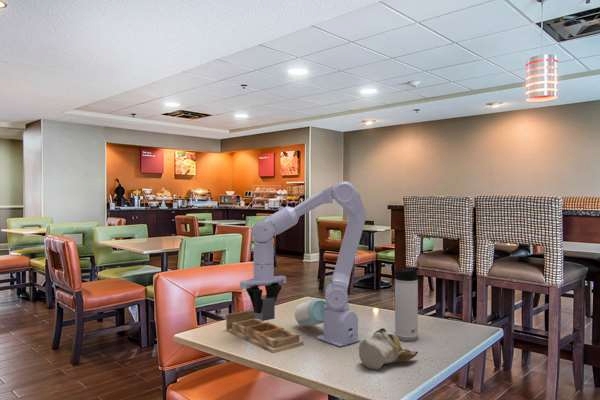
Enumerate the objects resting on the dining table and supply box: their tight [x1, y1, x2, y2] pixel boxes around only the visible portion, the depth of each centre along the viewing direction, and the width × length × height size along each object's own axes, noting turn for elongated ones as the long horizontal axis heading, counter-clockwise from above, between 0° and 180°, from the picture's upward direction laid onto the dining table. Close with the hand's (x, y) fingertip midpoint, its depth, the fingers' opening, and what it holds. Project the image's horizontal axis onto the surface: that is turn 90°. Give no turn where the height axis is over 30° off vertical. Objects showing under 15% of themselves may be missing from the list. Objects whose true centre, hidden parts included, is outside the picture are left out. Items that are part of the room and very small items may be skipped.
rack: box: [225, 308, 304, 354], centre depth 123 cm, size 24×10×5 cm, turn 39°
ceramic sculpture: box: [358, 327, 419, 370], centre depth 104 cm, size 11×9×15 cm
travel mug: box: [394, 266, 420, 342], centre depth 122 cm, size 6×7×20 cm
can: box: [294, 298, 326, 327], centre depth 129 cm, size 7×7×12 cm
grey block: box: [255, 294, 276, 322], centre depth 122 cm, size 4×4×6 cm
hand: (263, 311), depth 123 cm, fingers closed on grey block, 4 cm apart
